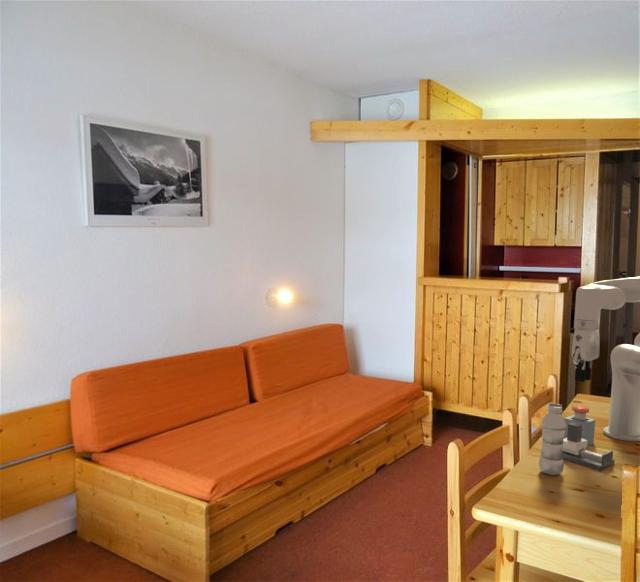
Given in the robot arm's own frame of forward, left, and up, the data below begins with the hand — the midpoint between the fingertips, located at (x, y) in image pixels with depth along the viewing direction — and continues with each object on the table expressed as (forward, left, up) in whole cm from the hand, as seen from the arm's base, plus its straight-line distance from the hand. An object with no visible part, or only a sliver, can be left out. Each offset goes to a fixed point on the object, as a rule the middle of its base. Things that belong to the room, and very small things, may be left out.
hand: (582, 379), depth 196 cm
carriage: (+14, +5, -19) cm, 25 cm away
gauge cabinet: (0, 0, -21) cm, 21 cm away
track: (+14, +9, -21) cm, 27 cm away
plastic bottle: (+32, +8, -21) cm, 39 cm away
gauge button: (0, 0, -14) cm, 14 cm away
